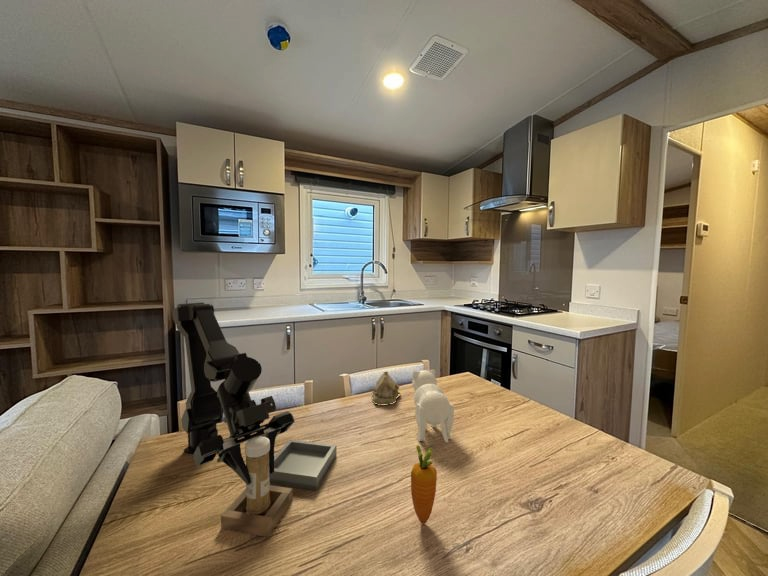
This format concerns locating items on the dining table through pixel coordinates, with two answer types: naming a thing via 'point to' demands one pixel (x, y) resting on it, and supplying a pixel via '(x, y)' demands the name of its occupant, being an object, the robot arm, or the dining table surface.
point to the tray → (302, 464)
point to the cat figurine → (431, 404)
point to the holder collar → (255, 523)
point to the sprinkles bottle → (258, 475)
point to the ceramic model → (385, 390)
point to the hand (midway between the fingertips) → (261, 478)
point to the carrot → (423, 486)
